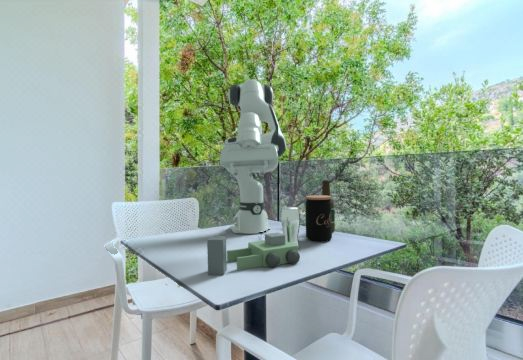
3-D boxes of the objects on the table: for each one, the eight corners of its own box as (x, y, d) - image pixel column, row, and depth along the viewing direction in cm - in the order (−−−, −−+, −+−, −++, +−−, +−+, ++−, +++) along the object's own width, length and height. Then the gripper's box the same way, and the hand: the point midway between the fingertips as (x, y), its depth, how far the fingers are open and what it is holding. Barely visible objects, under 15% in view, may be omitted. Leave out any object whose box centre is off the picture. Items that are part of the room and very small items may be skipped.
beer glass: (299, 250, 113) (299, 209, 113) (280, 249, 114) (279, 209, 114) (301, 245, 120) (300, 206, 119) (283, 245, 121) (282, 206, 121)
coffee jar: (317, 243, 123) (316, 198, 122) (300, 238, 132) (300, 196, 131) (337, 240, 128) (337, 196, 127) (320, 235, 137) (319, 194, 137)
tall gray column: (211, 269, 93) (211, 236, 93) (226, 269, 92) (226, 236, 92) (208, 274, 88) (207, 239, 88) (223, 275, 88) (222, 239, 88)
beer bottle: (317, 229, 150) (316, 180, 150) (333, 229, 150) (333, 179, 149) (319, 233, 143) (318, 180, 142) (336, 233, 142) (336, 180, 141)
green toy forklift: (224, 259, 104) (223, 235, 104) (277, 251, 112) (276, 229, 112) (242, 273, 89) (241, 245, 89) (301, 262, 98) (300, 237, 98)
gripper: (278, 149, 115) (280, 178, 107) (223, 152, 116) (220, 181, 107) (277, 137, 111) (280, 165, 102) (220, 139, 111) (217, 168, 102)
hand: (249, 173), depth 104 cm, fingers open, 8 cm apart
